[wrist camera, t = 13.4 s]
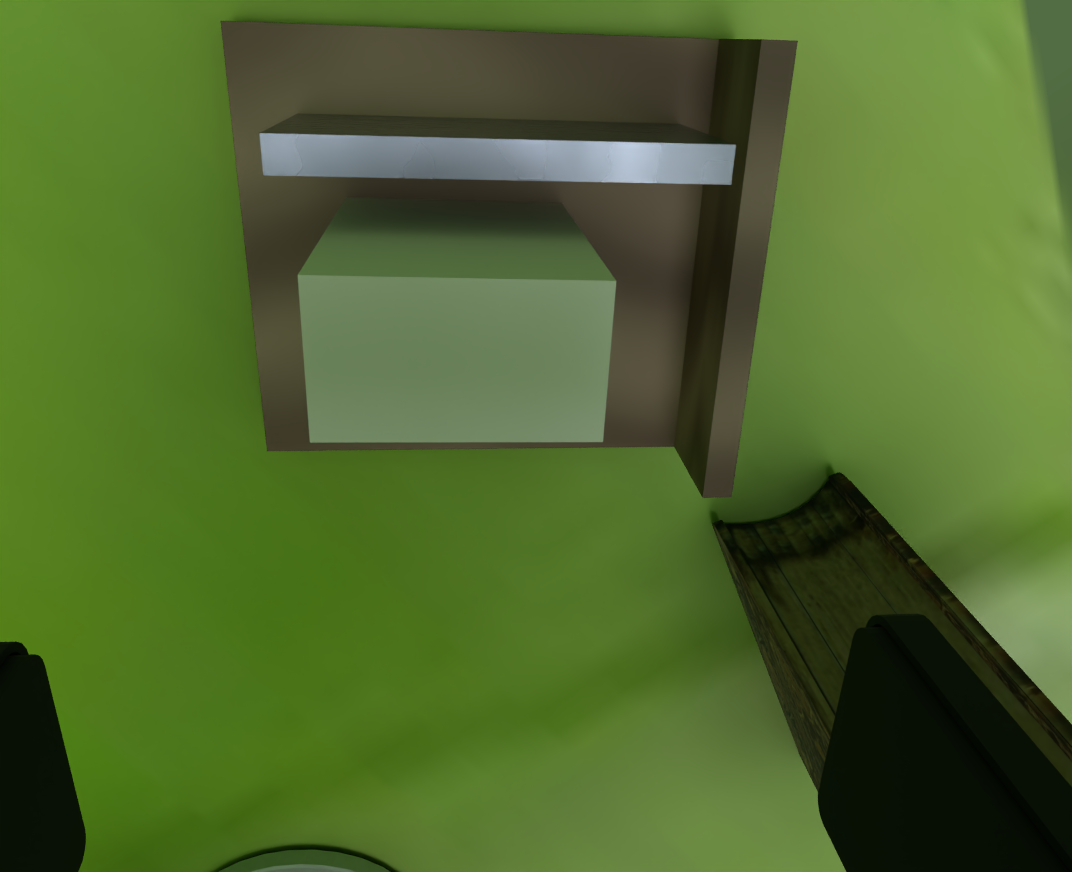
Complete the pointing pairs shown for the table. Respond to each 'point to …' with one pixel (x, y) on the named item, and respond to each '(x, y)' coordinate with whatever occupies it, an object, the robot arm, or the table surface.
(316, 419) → the plain rectangular box
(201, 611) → the table surface
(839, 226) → the table surface
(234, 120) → the shelf
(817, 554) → the book
